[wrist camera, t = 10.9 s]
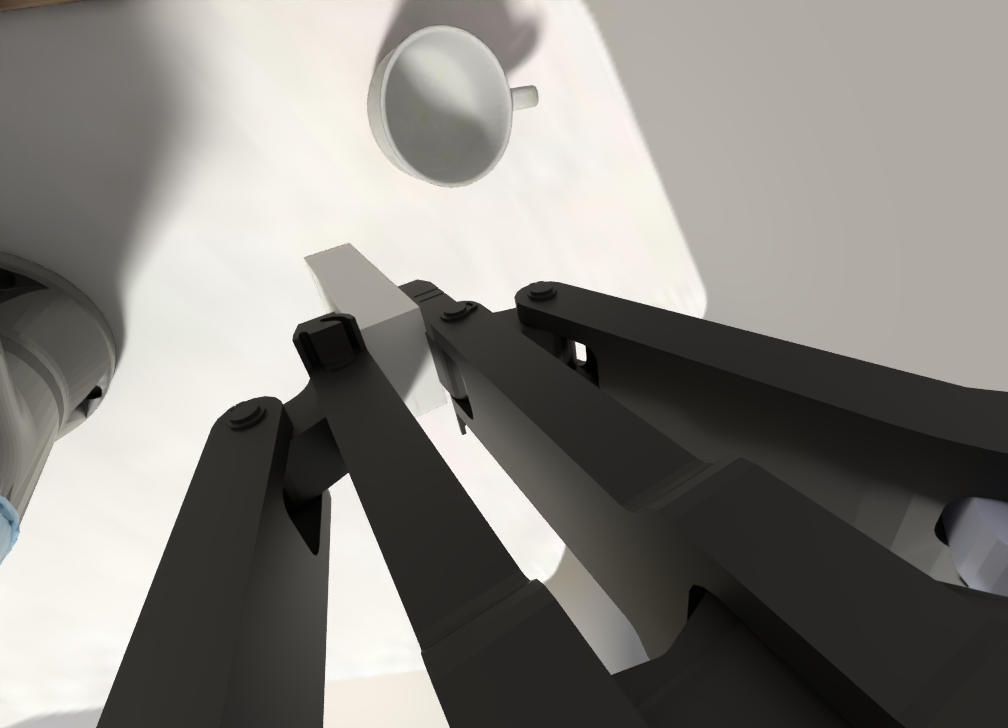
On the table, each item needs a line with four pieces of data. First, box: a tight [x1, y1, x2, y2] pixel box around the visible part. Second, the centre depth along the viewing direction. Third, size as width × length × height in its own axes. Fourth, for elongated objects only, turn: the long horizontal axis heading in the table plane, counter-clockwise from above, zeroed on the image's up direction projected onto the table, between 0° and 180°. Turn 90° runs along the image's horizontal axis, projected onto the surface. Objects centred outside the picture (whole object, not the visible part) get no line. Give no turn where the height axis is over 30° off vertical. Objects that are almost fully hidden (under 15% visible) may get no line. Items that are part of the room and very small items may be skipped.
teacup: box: [367, 25, 538, 188], centre depth 40 cm, size 14×11×8 cm
